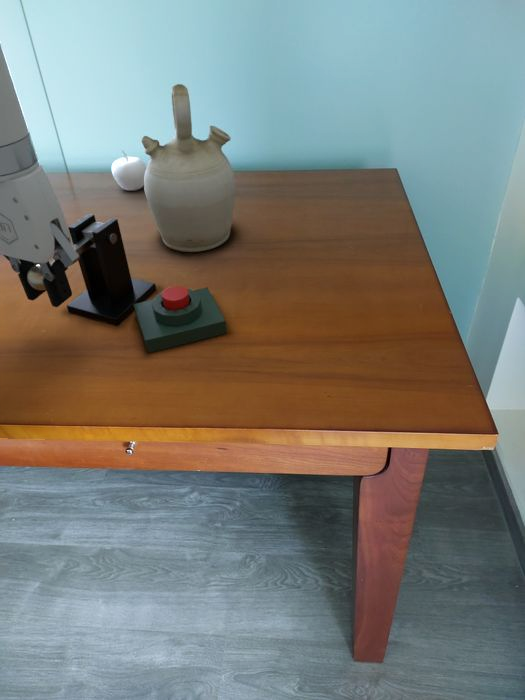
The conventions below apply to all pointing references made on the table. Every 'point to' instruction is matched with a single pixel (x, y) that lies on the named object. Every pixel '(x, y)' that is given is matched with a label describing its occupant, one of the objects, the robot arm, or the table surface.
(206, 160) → the jug
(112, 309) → the bracket
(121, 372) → the table surface
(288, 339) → the table surface
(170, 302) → the button
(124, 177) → the plain white apple
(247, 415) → the table surface
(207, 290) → the button box
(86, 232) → the lever
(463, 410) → the table surface
